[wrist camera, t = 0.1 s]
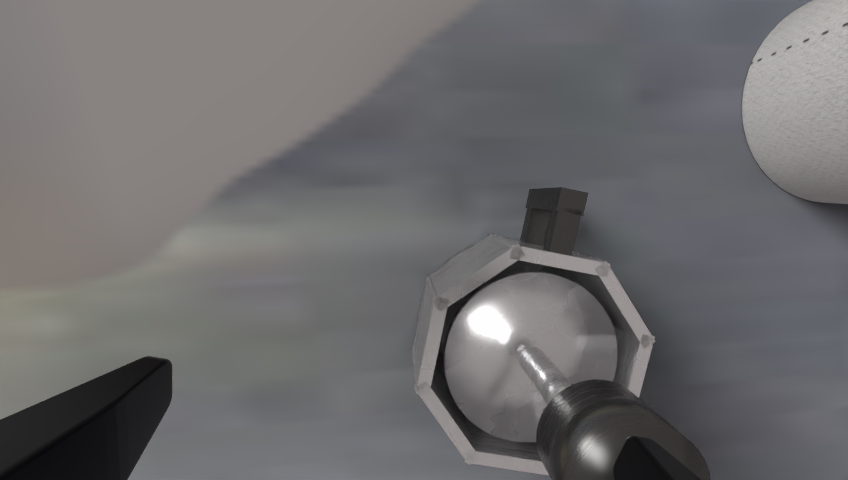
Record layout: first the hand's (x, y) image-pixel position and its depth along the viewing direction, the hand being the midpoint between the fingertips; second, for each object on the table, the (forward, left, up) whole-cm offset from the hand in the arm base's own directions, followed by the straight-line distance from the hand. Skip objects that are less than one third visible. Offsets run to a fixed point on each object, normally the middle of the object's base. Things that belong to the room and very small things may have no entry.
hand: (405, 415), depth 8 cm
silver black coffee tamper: (+3, -6, -11) cm, 13 cm away
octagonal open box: (+4, -5, -15) cm, 17 cm away
